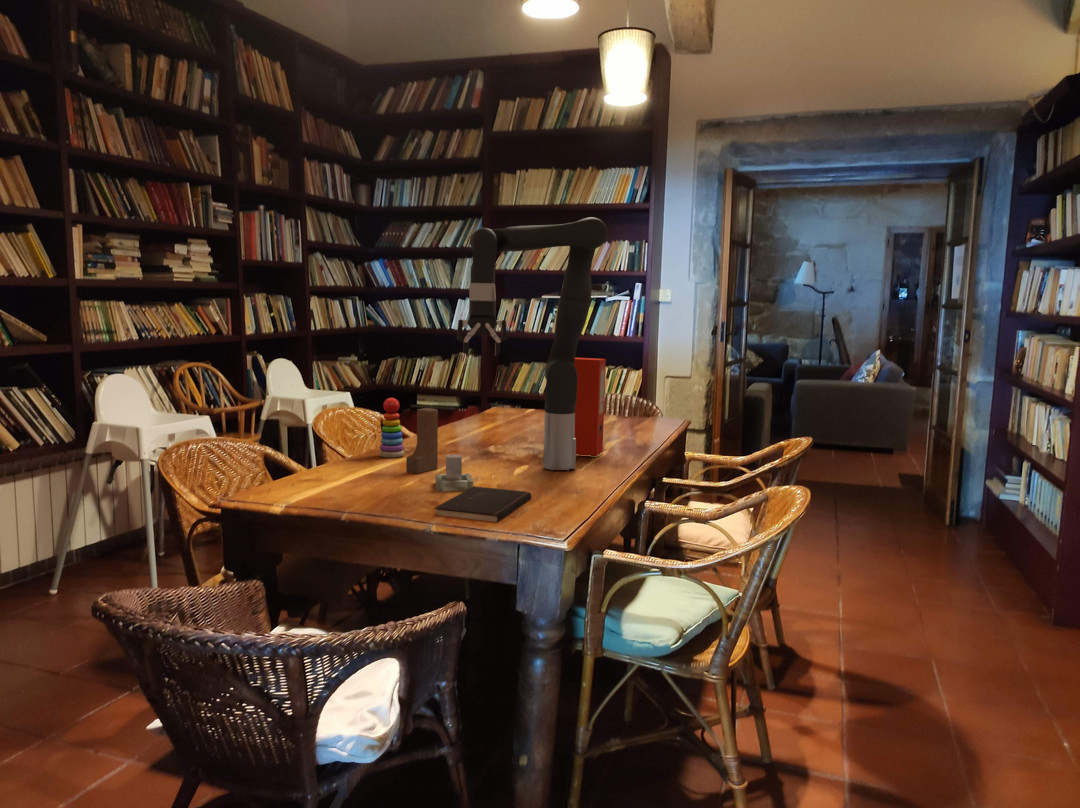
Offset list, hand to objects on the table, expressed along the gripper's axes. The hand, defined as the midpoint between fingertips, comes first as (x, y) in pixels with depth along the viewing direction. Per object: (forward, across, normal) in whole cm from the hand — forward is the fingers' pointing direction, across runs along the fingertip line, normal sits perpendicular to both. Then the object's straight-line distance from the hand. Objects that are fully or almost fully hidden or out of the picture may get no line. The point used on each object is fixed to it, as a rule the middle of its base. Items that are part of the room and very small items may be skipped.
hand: (481, 355), depth 221 cm
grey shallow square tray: (+34, +9, +19) cm, 40 cm away
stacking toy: (+34, +26, -24) cm, 49 cm away
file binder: (+34, -34, -24) cm, 54 cm away
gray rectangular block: (+34, +9, +19) cm, 40 cm away
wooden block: (+34, +17, -2) cm, 38 cm away
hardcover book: (+35, +3, +40) cm, 53 cm away
